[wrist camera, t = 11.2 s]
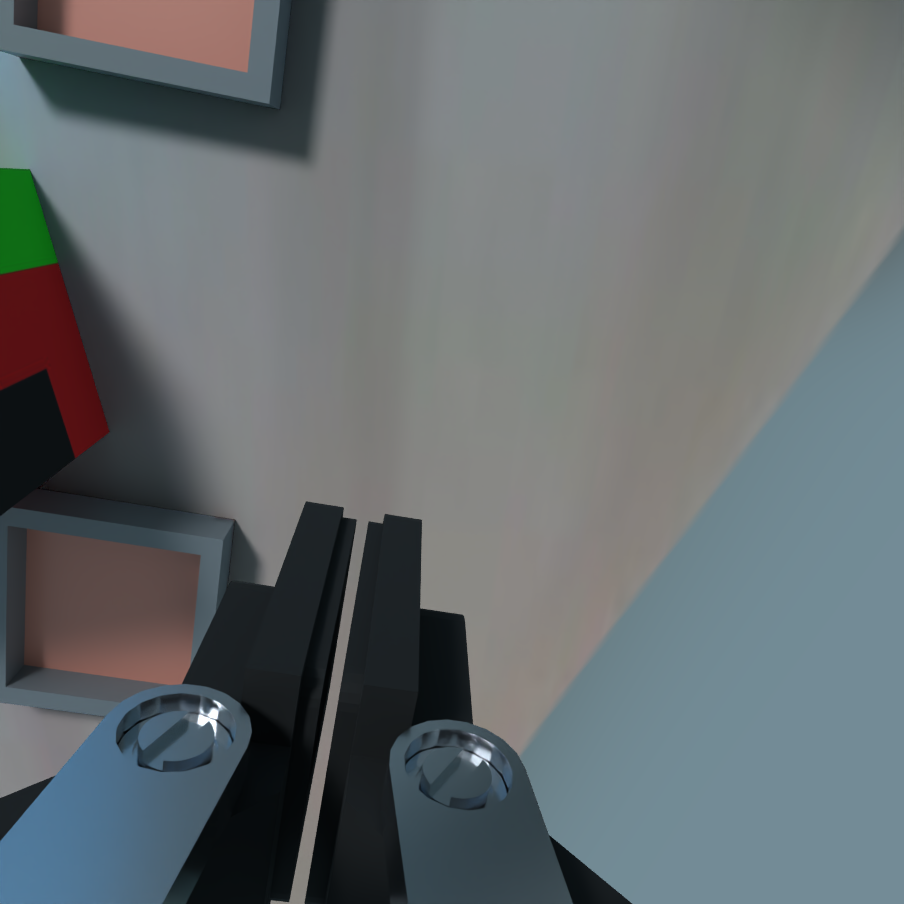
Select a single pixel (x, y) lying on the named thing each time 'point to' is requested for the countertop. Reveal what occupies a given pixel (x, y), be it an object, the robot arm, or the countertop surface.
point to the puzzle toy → (38, 352)
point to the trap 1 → (103, 598)
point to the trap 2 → (159, 42)
